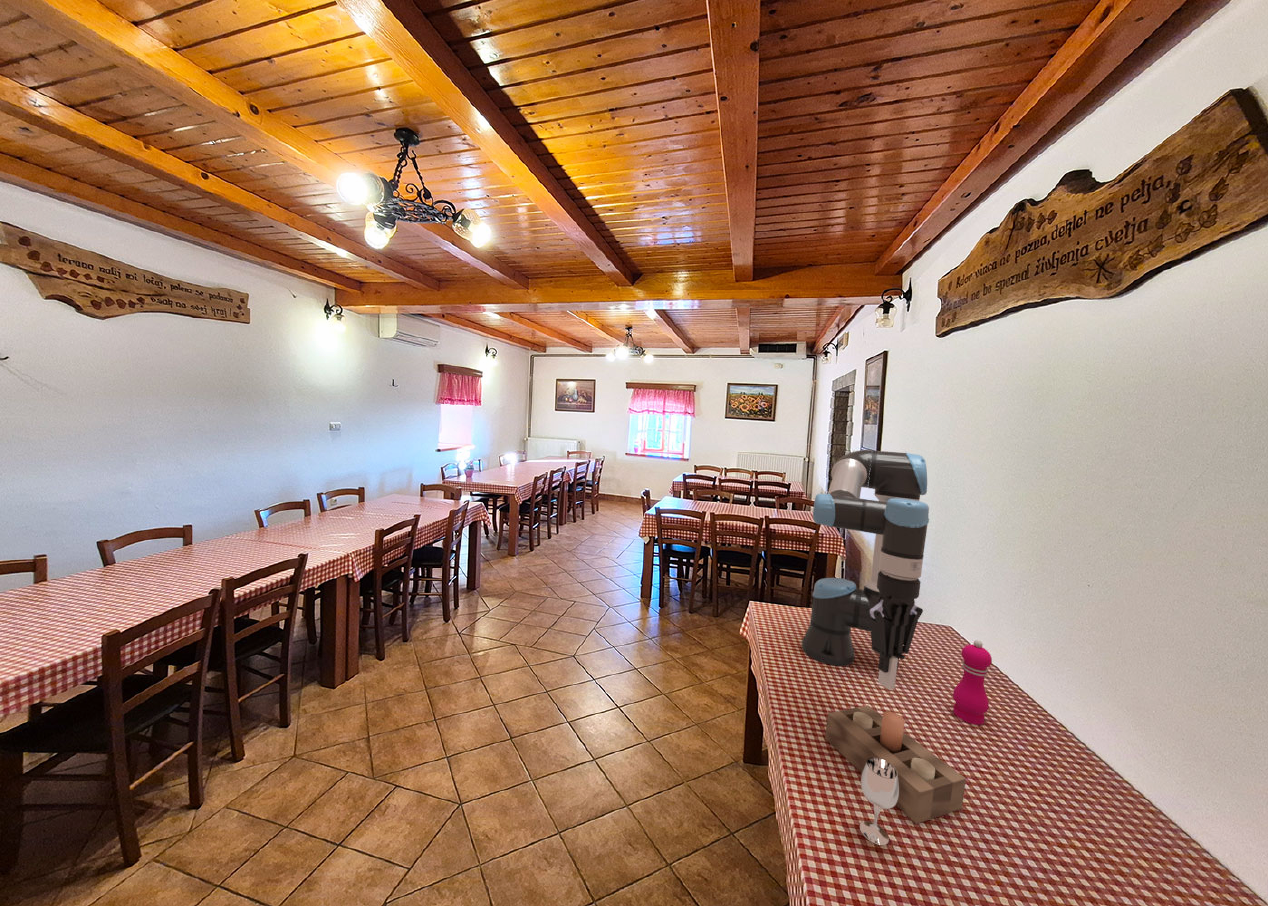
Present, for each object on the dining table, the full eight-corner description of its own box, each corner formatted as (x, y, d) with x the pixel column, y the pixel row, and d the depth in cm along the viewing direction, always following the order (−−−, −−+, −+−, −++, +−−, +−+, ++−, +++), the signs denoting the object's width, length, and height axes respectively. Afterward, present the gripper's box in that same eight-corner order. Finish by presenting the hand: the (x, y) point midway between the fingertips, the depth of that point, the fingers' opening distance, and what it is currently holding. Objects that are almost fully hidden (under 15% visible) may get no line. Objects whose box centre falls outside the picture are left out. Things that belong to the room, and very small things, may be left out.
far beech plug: (846, 738, 99) (849, 713, 99) (859, 735, 101) (862, 710, 100) (860, 751, 96) (863, 724, 95) (873, 747, 97) (876, 721, 97)
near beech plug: (903, 788, 86) (907, 759, 86) (917, 784, 88) (921, 756, 87) (921, 805, 83) (925, 774, 82) (936, 800, 84) (940, 770, 84)
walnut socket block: (824, 738, 100) (827, 713, 100) (865, 729, 104) (868, 705, 104) (916, 824, 79) (920, 792, 79) (961, 808, 84) (965, 778, 83)
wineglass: (848, 818, 80) (856, 755, 79) (879, 818, 80) (886, 755, 79) (868, 849, 74) (876, 781, 73) (900, 849, 74) (909, 781, 74)
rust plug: (875, 740, 93) (878, 713, 92) (889, 737, 94) (892, 710, 93) (891, 753, 89) (895, 725, 89) (905, 750, 90) (908, 722, 90)
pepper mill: (993, 729, 108) (1004, 650, 106) (959, 723, 109) (970, 645, 108) (976, 710, 115) (986, 636, 113) (945, 705, 116) (955, 631, 115)
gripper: (890, 582, 85) (877, 700, 87) (939, 580, 89) (925, 692, 91) (859, 569, 92) (847, 678, 94) (906, 568, 97) (894, 672, 98)
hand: (886, 685), depth 92 cm, fingers closed
